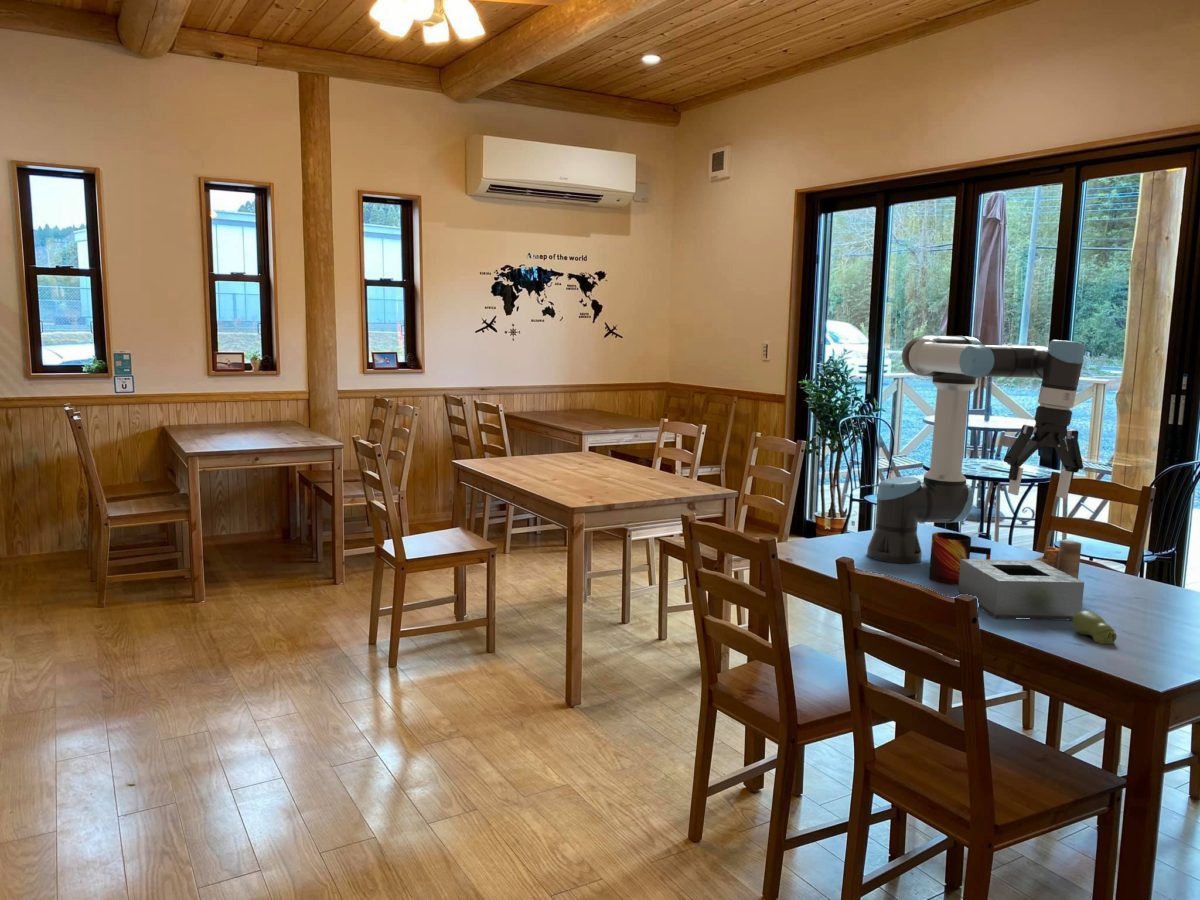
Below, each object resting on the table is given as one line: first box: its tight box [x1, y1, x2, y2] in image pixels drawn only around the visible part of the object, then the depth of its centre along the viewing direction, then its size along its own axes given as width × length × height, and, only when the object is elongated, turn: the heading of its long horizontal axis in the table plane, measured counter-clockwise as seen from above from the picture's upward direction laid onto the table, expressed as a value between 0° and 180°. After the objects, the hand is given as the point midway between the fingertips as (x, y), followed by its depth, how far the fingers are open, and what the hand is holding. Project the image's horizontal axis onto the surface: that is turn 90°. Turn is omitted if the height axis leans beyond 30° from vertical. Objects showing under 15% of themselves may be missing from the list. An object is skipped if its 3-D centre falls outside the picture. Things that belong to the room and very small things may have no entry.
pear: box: [1072, 610, 1118, 645], centre depth 193 cm, size 6×5×10 cm
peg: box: [1057, 540, 1082, 580], centre depth 224 cm, size 5×5×14 cm
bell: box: [1034, 546, 1059, 569], centre depth 248 cm, size 12×12×7 cm
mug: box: [928, 531, 992, 586], centre depth 237 cm, size 10×14×12 cm
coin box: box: [957, 558, 1085, 621], centre depth 214 cm, size 20×20×9 cm
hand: (1037, 495), depth 211 cm, fingers open, 13 cm apart
